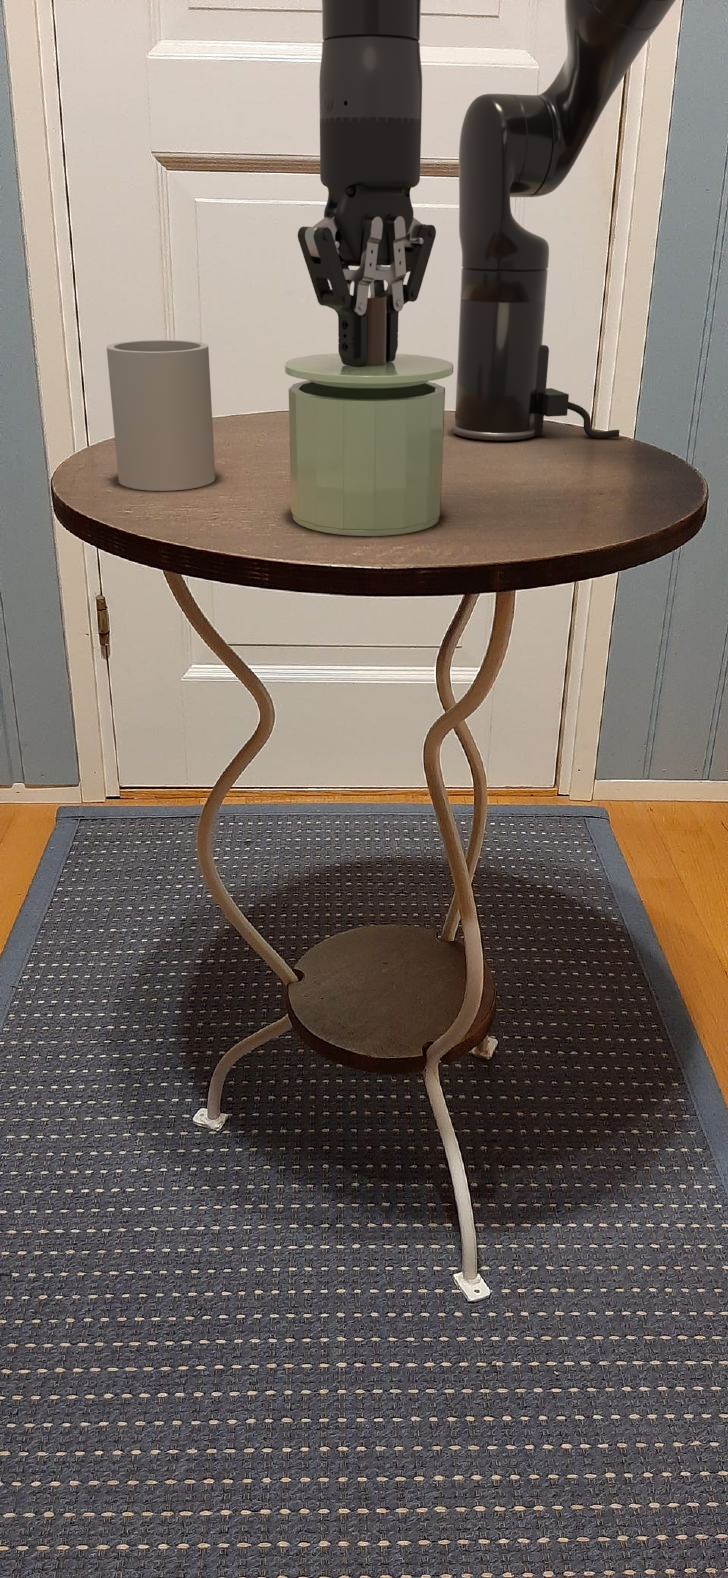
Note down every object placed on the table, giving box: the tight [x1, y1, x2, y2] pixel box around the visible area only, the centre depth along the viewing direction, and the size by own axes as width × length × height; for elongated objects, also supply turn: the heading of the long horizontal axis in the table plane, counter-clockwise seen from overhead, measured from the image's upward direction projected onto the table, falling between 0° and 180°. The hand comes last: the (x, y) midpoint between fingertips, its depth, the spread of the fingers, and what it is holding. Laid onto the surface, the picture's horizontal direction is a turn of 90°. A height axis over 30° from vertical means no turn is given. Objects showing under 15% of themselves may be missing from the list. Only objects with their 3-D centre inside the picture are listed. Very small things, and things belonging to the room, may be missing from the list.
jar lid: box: [284, 294, 454, 389], centre depth 92 cm, size 14×14×6 cm
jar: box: [288, 380, 446, 537], centre depth 96 cm, size 13×13×10 cm
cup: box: [106, 339, 216, 492], centre depth 107 cm, size 9×9×12 cm
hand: (368, 361), depth 93 cm, fingers closed on jar lid, 3 cm apart
